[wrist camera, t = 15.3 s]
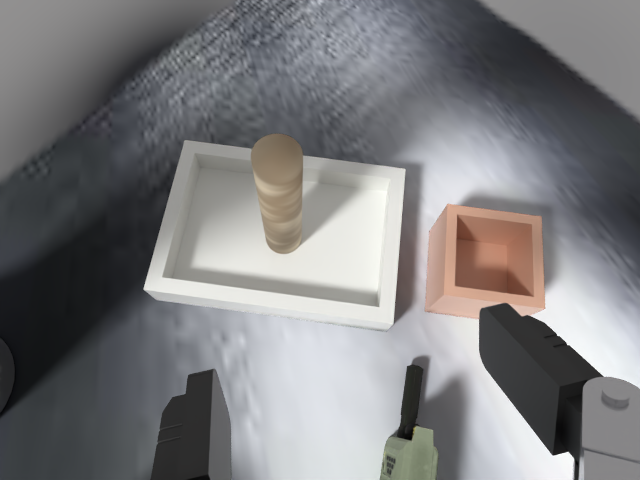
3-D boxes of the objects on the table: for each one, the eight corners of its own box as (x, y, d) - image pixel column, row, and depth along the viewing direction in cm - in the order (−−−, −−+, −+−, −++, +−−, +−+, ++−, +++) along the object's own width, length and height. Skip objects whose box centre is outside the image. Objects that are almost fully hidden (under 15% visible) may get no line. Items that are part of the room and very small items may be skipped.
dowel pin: (262, 251, 41) (246, 175, 28) (269, 218, 42) (255, 130, 29) (298, 256, 41) (298, 182, 28) (304, 223, 42) (306, 137, 29)
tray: (156, 299, 40) (143, 289, 37) (193, 159, 45) (184, 139, 42) (386, 331, 40) (393, 324, 37) (398, 186, 45) (405, 168, 42)
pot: (424, 311, 41) (443, 294, 35) (429, 231, 43) (447, 204, 38) (512, 323, 41) (545, 308, 35) (511, 242, 43) (541, 216, 38)
